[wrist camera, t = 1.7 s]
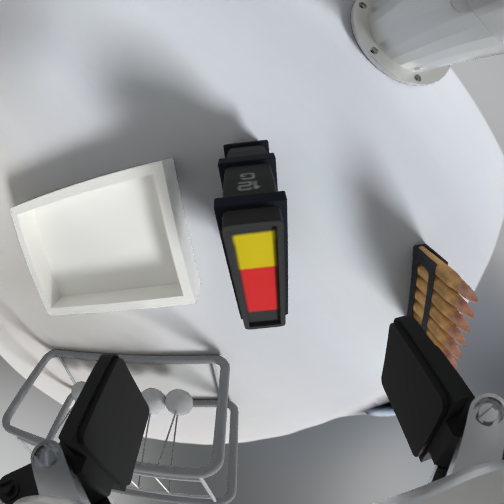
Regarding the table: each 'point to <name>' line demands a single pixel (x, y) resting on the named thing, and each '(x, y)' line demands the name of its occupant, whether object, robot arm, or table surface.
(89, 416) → the robot arm
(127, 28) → the table surface
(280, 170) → the table surface
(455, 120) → the table surface
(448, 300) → the ammunition clip
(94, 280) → the parts tray
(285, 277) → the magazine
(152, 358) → the newton's cradle
